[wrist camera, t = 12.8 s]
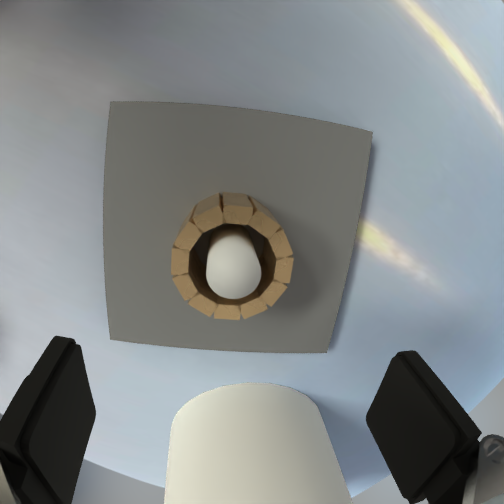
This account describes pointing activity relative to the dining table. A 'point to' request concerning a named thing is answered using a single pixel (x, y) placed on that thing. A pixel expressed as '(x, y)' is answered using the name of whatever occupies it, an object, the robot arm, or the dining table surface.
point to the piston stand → (228, 235)
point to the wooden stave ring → (194, 271)
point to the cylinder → (252, 450)
